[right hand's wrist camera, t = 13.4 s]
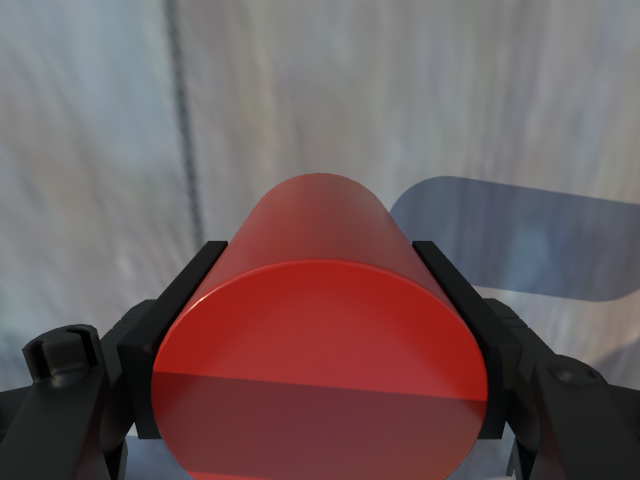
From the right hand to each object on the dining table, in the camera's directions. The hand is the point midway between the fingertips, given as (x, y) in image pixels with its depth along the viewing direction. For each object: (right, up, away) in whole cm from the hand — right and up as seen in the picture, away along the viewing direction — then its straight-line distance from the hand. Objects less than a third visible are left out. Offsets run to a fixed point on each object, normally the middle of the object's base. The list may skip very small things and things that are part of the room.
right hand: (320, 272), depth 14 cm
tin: (0, +1, +3) cm, 3 cm away
